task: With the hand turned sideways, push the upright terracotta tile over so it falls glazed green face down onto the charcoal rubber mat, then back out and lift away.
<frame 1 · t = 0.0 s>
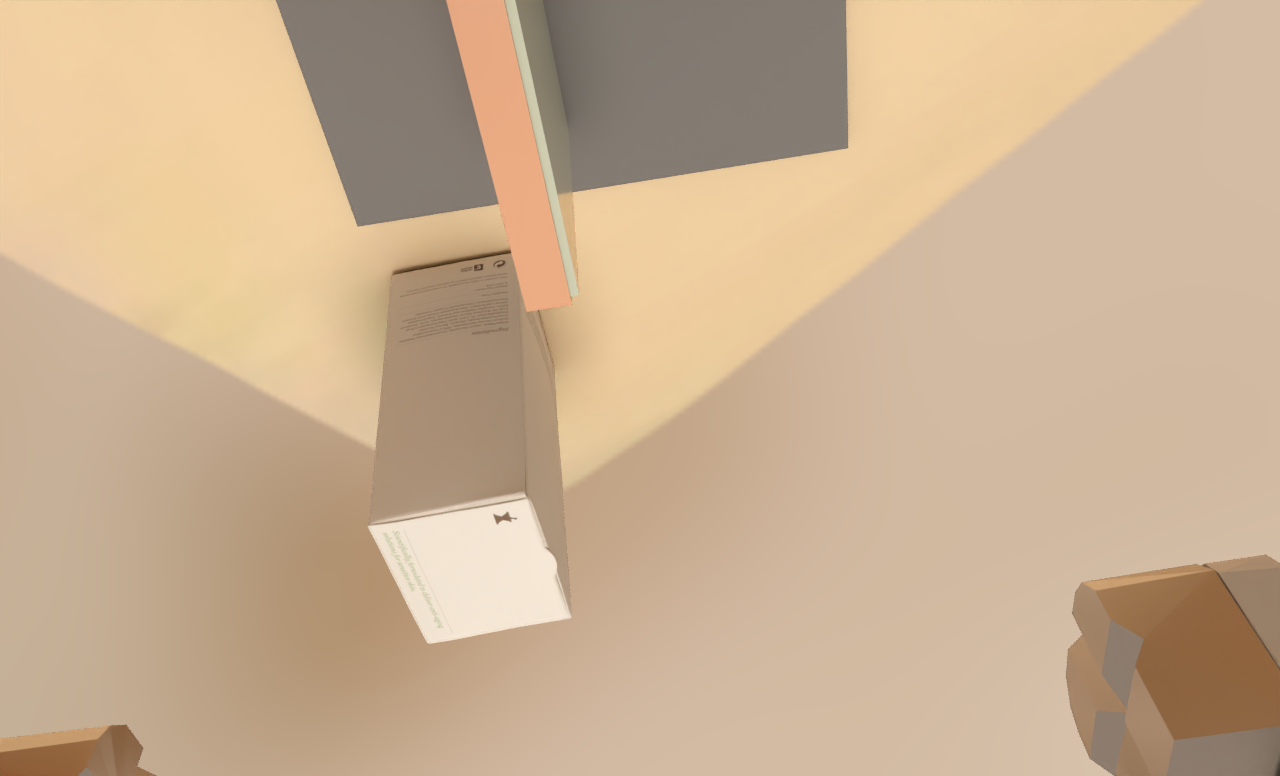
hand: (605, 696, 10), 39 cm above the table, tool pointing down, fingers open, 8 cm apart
skincare box: (481, 323, 57), on the table
tile: (514, 0, 45), resting on mat
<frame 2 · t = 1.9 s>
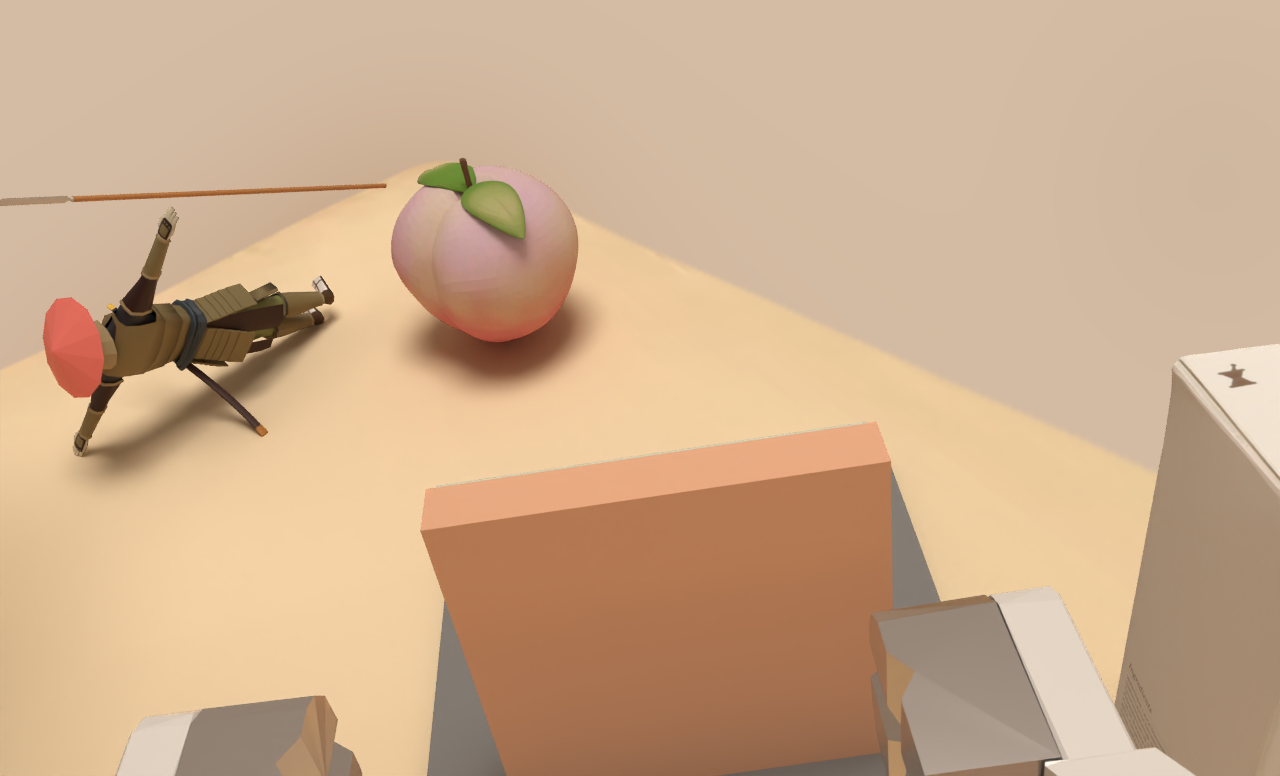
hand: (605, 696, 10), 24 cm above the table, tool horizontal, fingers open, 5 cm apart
decorative fruit: (512, 337, 59), on the table
mat: (697, 714, 39), on the table
samurai figurine: (273, 390, 59), on the table
tile: (701, 755, 37), resting on mat
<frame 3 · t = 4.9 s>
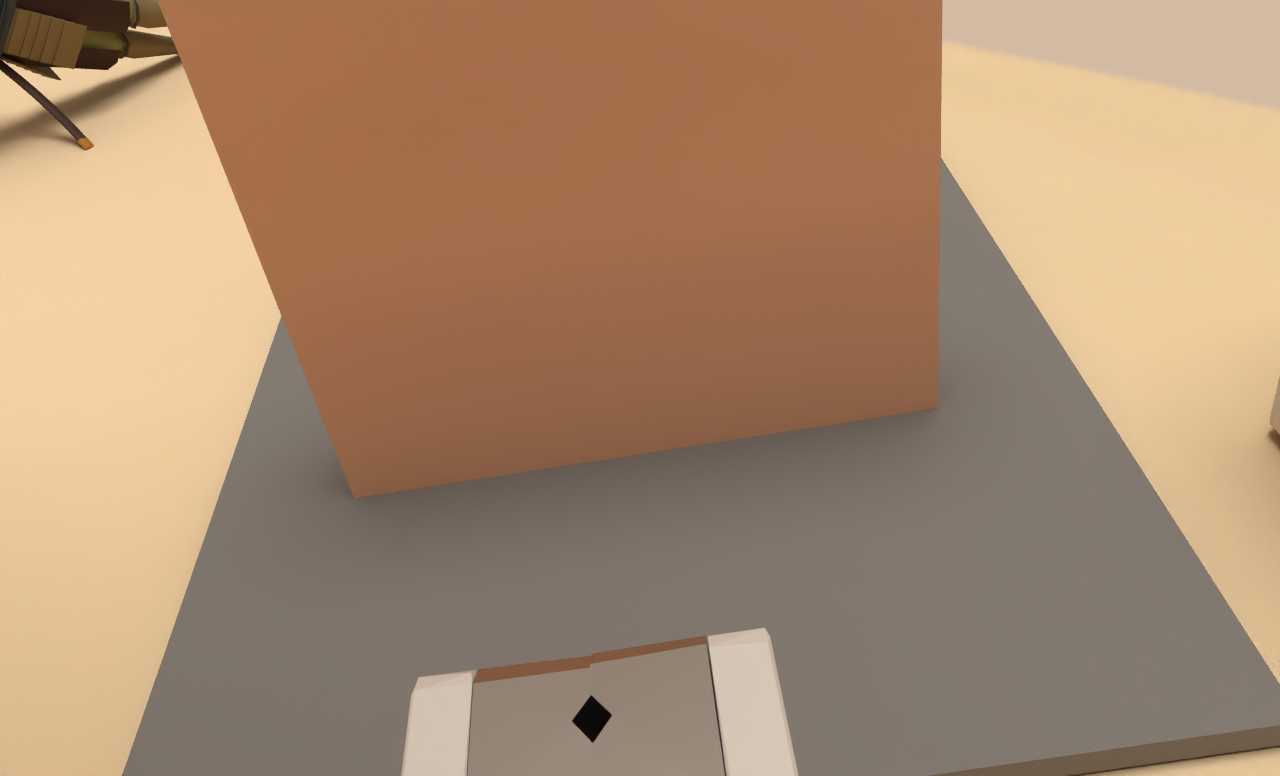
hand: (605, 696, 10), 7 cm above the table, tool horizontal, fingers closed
mat: (638, 391, 26), on the table
samurai figurine: (117, 114, 47), on the table
tile: (640, 429, 24), resting on mat
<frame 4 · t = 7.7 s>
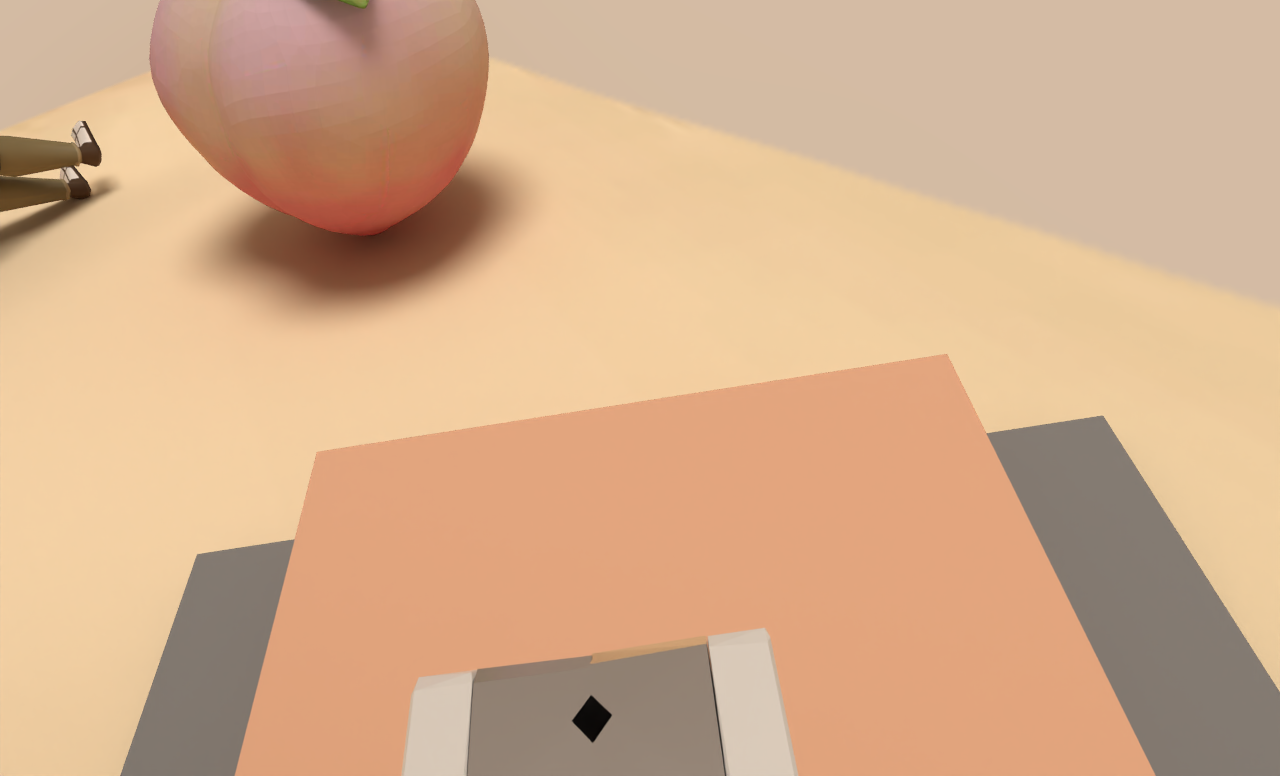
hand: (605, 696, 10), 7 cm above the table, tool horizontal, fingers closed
decorative fruit: (385, 232, 35), on the table
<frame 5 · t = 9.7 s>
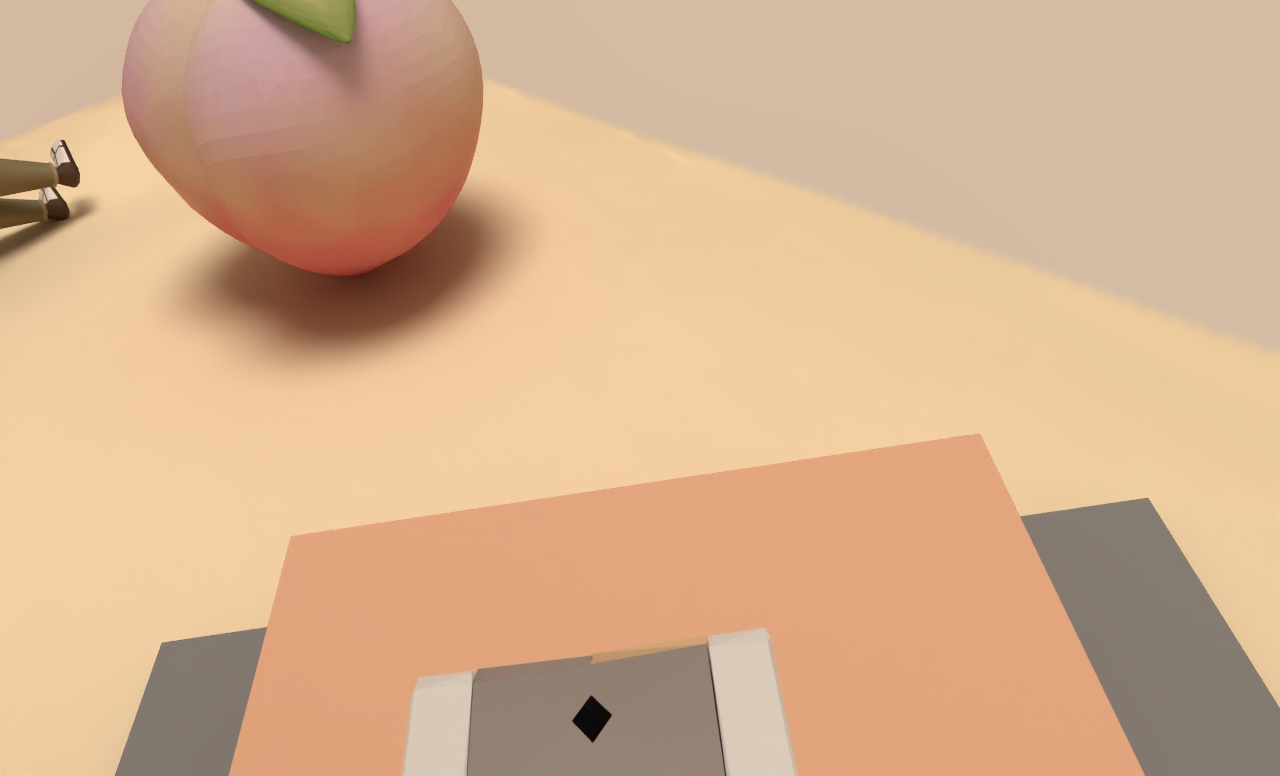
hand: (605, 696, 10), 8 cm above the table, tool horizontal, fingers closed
decorative fruit: (373, 270, 33), on the table
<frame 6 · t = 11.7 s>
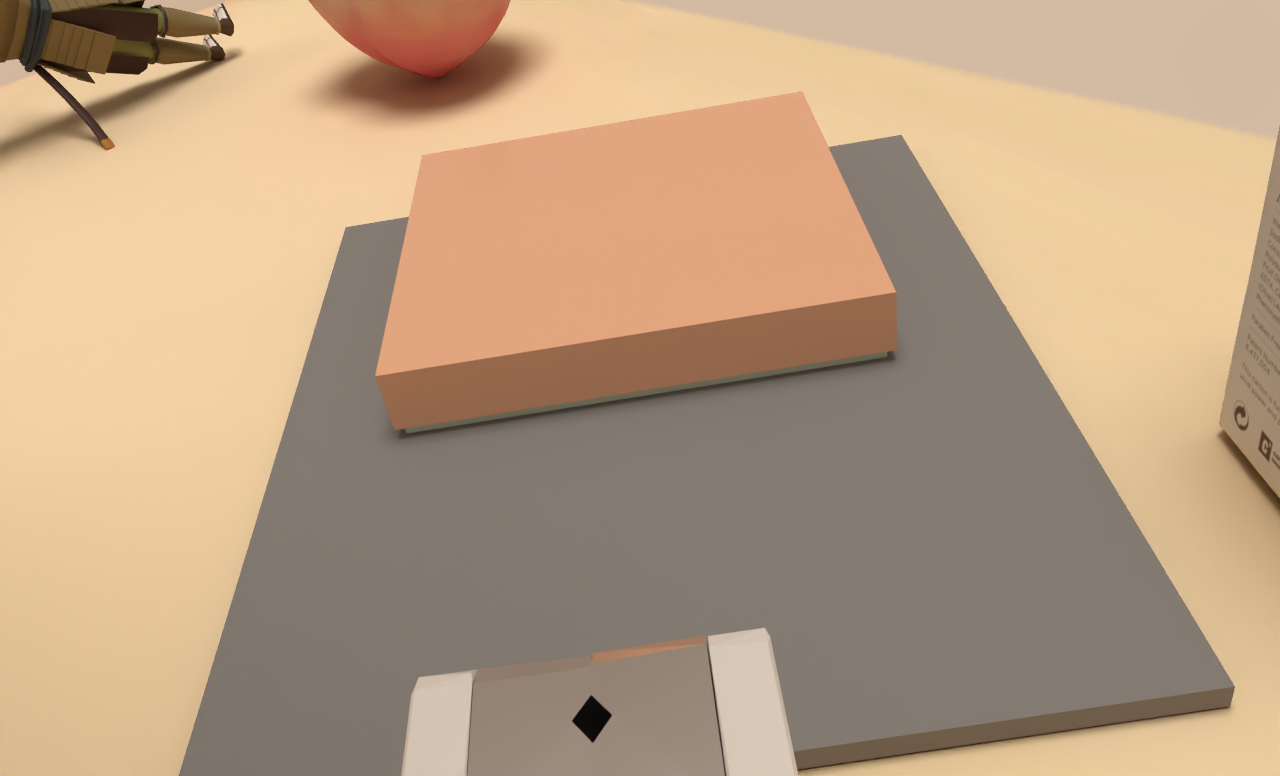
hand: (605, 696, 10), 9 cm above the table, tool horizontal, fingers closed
decorative fruit: (444, 78, 49), on the table
mat: (646, 397, 28), on the table
samurai figurine: (144, 116, 51), on the table
tile: (638, 363, 27), point 2 cm above the table, tilted 90°, touching mat
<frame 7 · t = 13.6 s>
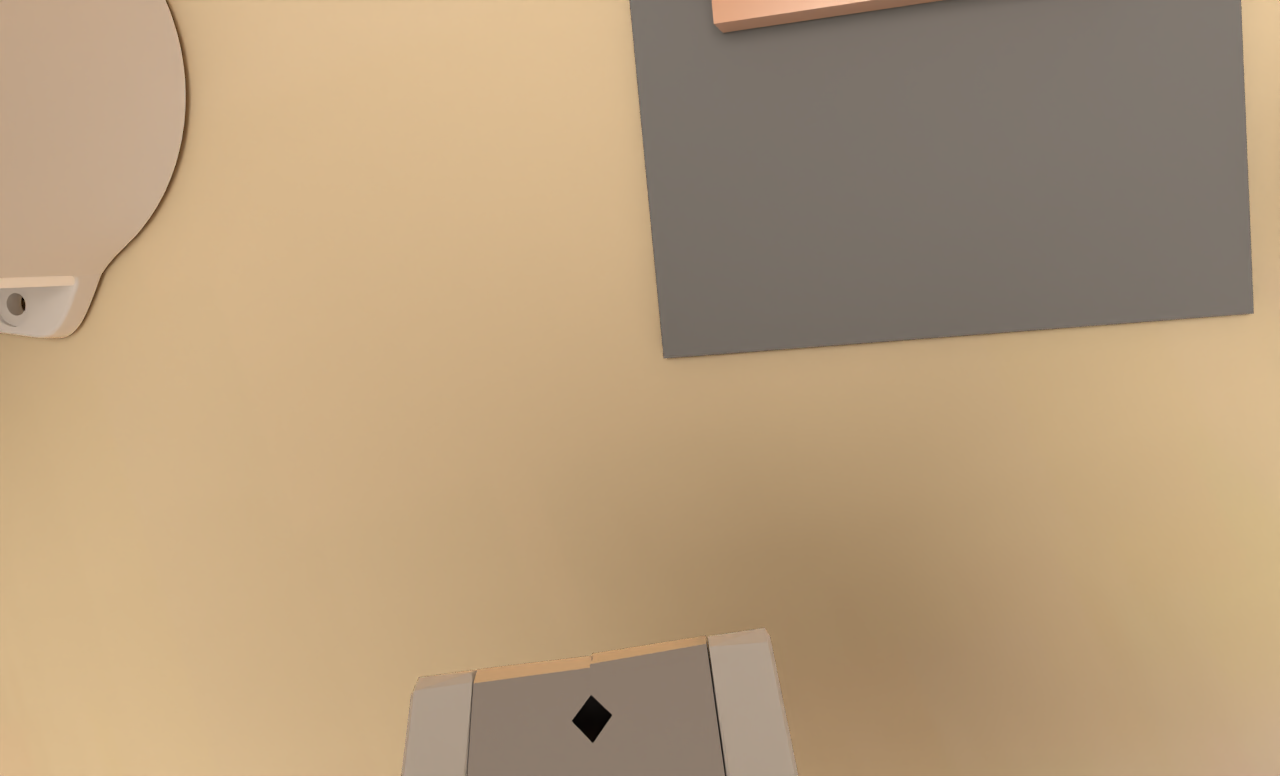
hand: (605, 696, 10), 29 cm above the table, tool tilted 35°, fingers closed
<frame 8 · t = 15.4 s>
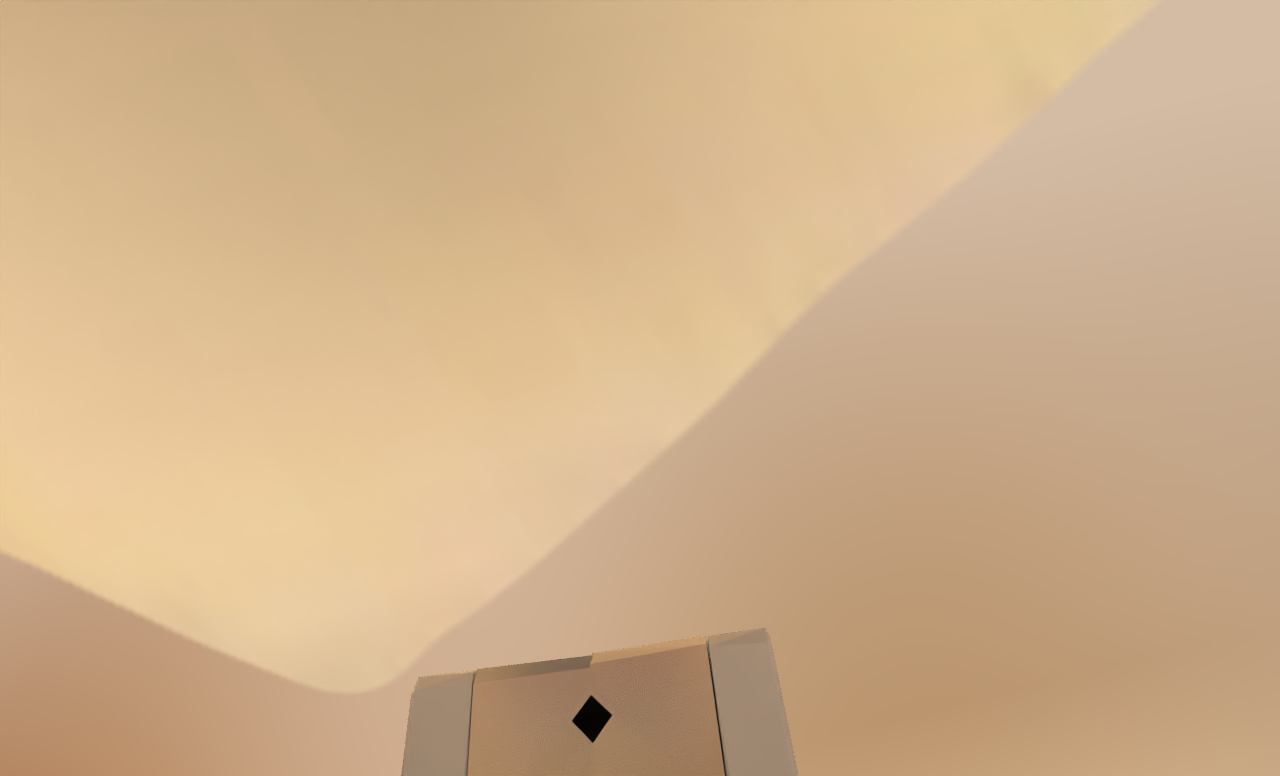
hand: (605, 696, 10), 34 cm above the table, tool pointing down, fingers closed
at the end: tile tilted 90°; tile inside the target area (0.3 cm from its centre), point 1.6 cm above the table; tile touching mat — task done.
